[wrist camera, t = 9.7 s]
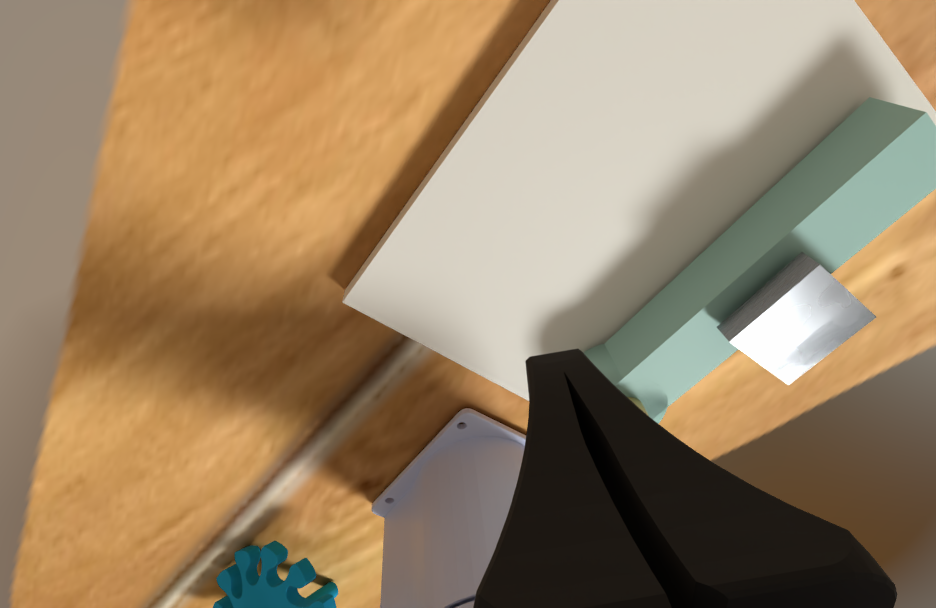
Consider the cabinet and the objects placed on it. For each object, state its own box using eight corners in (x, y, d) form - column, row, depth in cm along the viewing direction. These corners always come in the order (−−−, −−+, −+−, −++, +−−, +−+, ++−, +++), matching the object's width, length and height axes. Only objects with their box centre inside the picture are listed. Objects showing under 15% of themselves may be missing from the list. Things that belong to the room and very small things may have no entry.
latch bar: (603, 417, 27) (629, 475, 24) (548, 384, 25) (567, 441, 22) (911, 154, 20) (1001, 185, 17) (862, 88, 19) (952, 110, 16)
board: (609, 433, 29) (615, 446, 29) (344, 290, 23) (342, 302, 22) (943, 143, 22) (964, 150, 21) (688, -194, 15) (705, -204, 14)
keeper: (722, 314, 26) (788, 385, 21) (670, 274, 24) (729, 342, 20) (790, 254, 24) (876, 316, 20) (739, 207, 23) (820, 264, 18)
